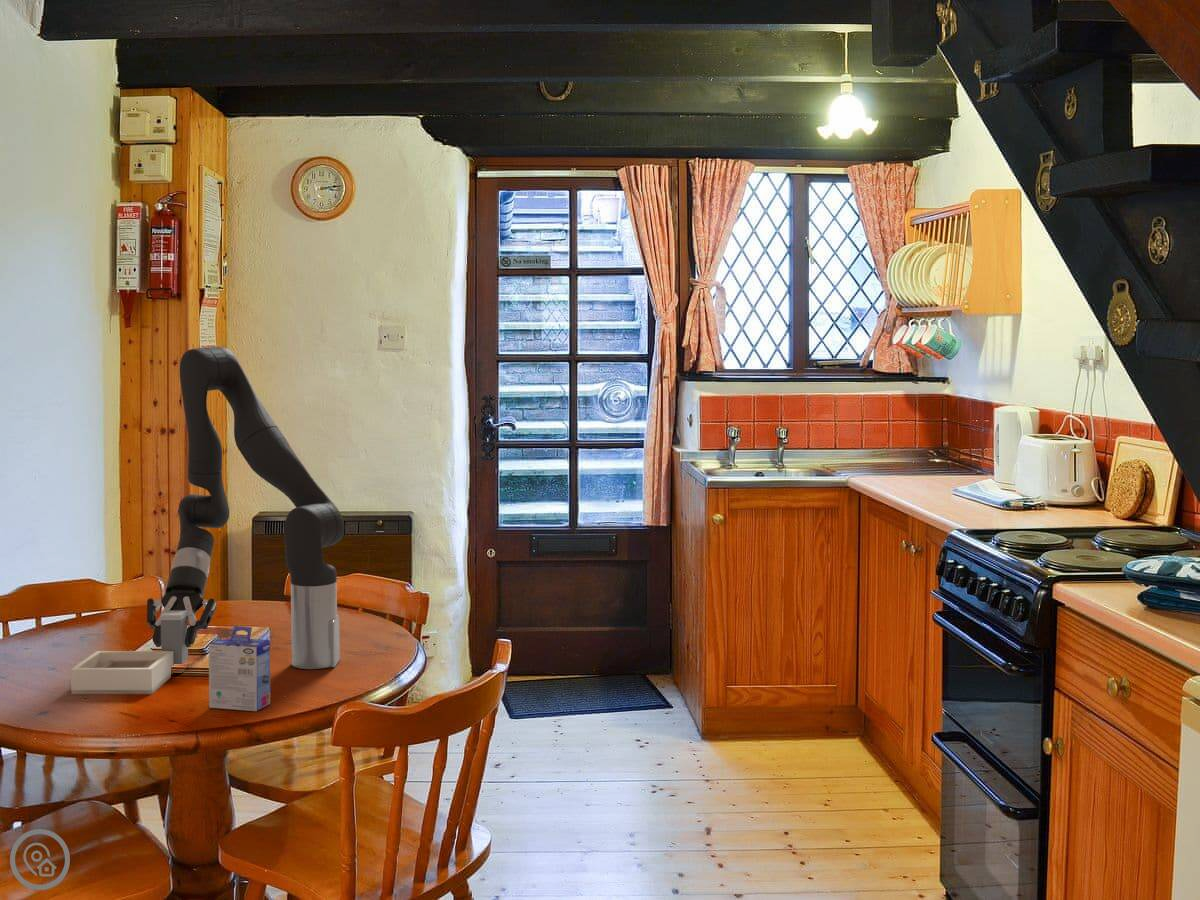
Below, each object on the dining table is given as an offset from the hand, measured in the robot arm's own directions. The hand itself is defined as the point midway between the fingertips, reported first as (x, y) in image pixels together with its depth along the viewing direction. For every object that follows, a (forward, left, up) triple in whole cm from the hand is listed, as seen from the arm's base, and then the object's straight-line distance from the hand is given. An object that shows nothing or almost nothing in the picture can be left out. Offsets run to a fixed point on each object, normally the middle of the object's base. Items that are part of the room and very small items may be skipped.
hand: (172, 645), depth 240 cm
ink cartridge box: (-19, +22, -6) cm, 29 cm away
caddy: (+7, +8, -6) cm, 12 cm away
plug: (0, -1, -6) cm, 6 cm away
